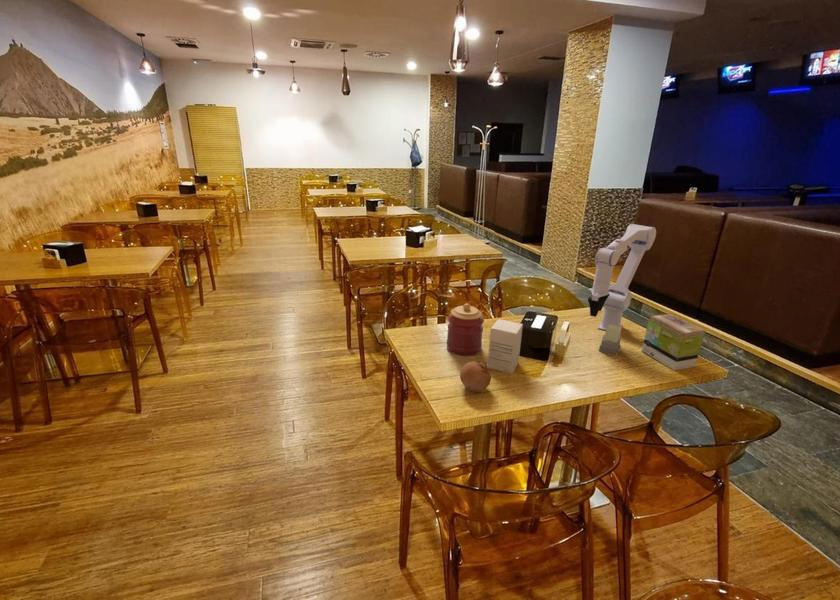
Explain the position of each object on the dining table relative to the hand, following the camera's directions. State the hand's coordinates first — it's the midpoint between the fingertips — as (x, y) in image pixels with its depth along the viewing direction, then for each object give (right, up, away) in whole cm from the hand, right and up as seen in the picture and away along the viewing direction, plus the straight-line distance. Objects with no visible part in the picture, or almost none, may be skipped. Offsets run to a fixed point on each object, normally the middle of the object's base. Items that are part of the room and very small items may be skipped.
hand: (595, 313), depth 165 cm
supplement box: (-40, -18, -19) cm, 48 cm away
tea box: (+21, -17, -12) cm, 29 cm away
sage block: (+3, -9, -8) cm, 13 cm away
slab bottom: (+2, -14, -6) cm, 16 cm away
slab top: (+2, -12, -7) cm, 14 cm away
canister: (-52, -13, -8) cm, 55 cm away
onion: (-52, -23, -34) cm, 66 cm away
